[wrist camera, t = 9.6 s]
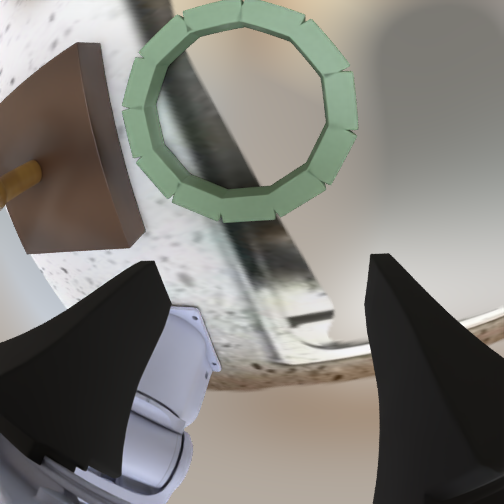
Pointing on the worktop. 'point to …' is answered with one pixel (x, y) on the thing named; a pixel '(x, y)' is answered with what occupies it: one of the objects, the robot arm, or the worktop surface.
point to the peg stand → (66, 159)
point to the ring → (253, 198)
